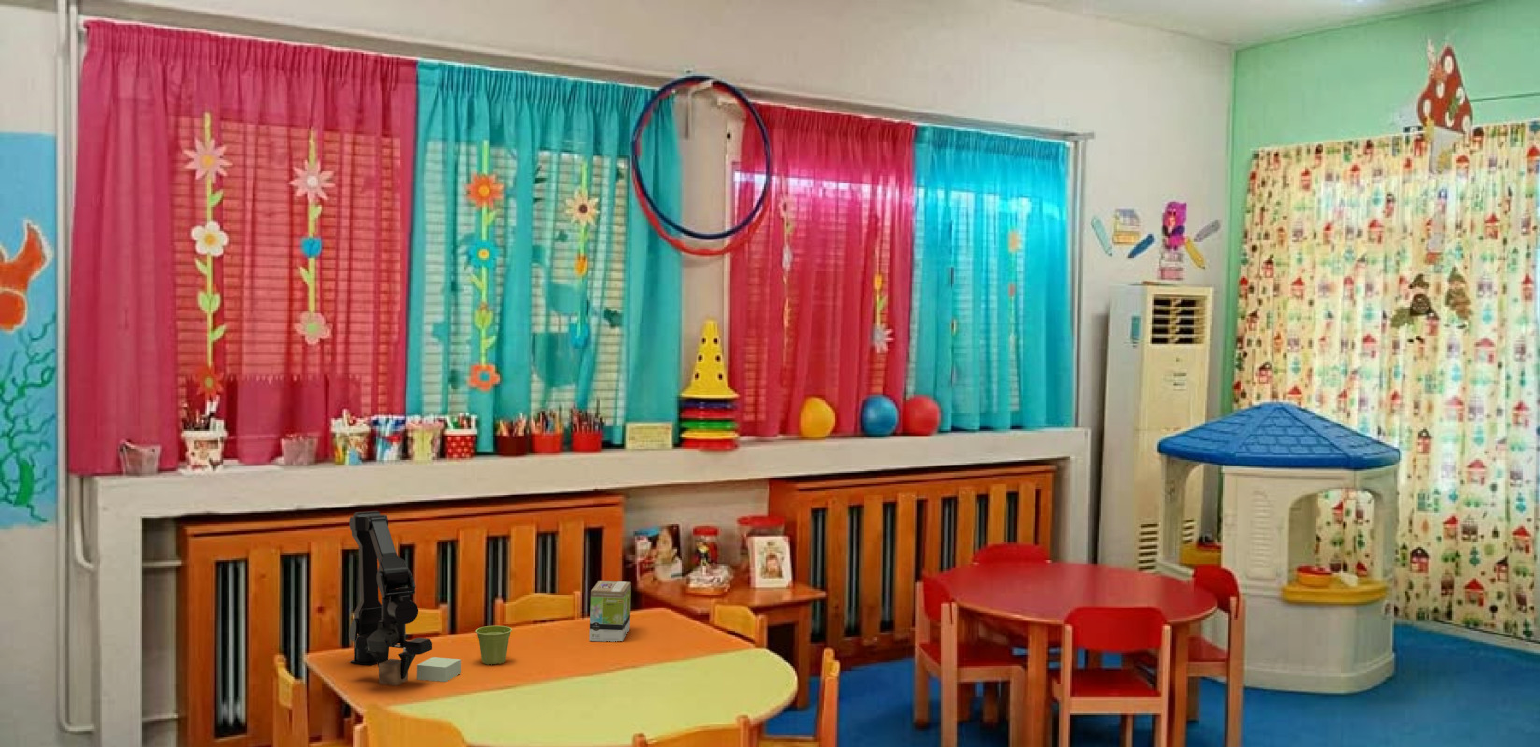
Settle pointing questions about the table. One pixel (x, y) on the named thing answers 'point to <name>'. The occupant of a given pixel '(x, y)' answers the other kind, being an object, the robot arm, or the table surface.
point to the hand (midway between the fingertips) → (393, 677)
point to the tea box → (610, 611)
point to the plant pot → (493, 643)
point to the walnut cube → (391, 672)
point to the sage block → (438, 669)
